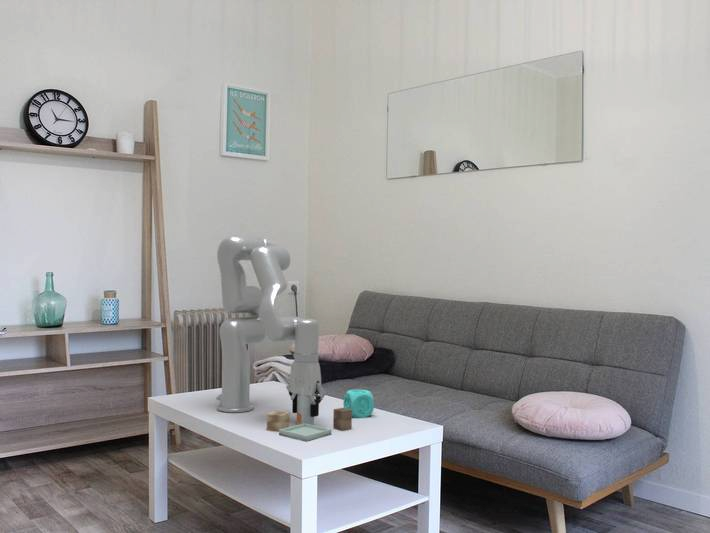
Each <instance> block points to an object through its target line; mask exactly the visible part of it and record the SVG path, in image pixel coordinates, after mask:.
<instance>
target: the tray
mask: <svg viewBox="0 0 710 533" xmlns="http://www.w3.org/2000/svg"><path fill="white" fill-rule="evenodd" d="M332 431H333V430H332V428H327V427H323V426H318V425H315V424H314V425H310V424H306V423H304V424H300V425H299V424H297V425H292V426H289V427H288V428H284V429H280V430H279V432H278V435H279V436H282V437H287V438H291V439H295V440H299V441H303V442H310V441H312V440H313V441H314V440H316V439H319V438H323V437H327V436H330V435H332Z"/></svg>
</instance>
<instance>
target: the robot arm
mask: <svg viewBox="0 0 710 533" xmlns="http://www.w3.org/2000/svg"><path fill="white" fill-rule="evenodd" d="M216 256H217V262H218V263H217V264H218V268H219V271H220V285H221V286H220V287H221V300H222V307H223V310H224V311H225V312H226V313H228V314H232V315H233V314H245V316H241V317H239V316H238V317H230V318H227V319H226V320H224V321H223V322H222V323H221V325H220V326H219V337H220V345H221V355H222V357H221V358H222V359H221V361H222V362H221V365H222V366H221V368H222V369H221V393H219V395H216V397H215V399H216V400H217V401H219V404H217V405H216V410H218V411H220V412H222V413H224V412H225V413H244V412H250V411H252V410H254V408H255V405H254V404H253V403H251V402H250V393H251V392H250V388H251V387H250V386H251V384H250V383H251V382H250V381H251V380H250V379H251V372H250V371H251V356H250V353H249V349H248V348H247V347H246V345H252V344H258V343H261V342H263V341H264V340H265V339H266V337H268V339H269V340H270V341H273V342H285V341H294V353H293V354H292V357H293V359H294V360H293V361H292V364H291V368H290V375H289V383H288V384H287V385H286V386H285V389H286V390H287V392H288V395H289V396H290V400H291V401H292V404H291V405H292V408H291V412H292V414H297V394H299V395H301V389H304V395H305V396H310V398H311V401H312V404H311V408H310V416H311V417H314V418H315V417H318V416H319V414H320V413H319V409H320V404H321V403H322V400H323V399H324V397H325V396H326V395H327V391H326V390H325V389H324V387H323V386H322V374H321V366H320V362H319V332H320V331H319V329H320V328H319V326H320V324H319V321H318V320H317V319H314V318H303V317H300V316H284V317H283V316H282V317H279V315H278V312H277V310H276V306H275V303H276V302H275V301H276V298H277V296H279V295H281V294H283V293H284V292H285V290H286V289H287V288H288V285H287V283H288V282H287V280H286V278H285V275H284V274H283V271H285V270H287V269H288V268H289V267H290V265H291V256H290V253H289V251H288V250H287V248H285V247H284V246H282V245H280V244H278V243H275V242H274V241H272V240H270V239H267V238H266V237H263V236H251V235H230V236H227V237H225V238H224V239H222V240H221V241H220V243H219V245H218V248H217V255H216ZM240 261H250V263H251V265H252V268H253V270H254V273H255V276H256V279H257V281H258V284H259V287H260V288H259V287H258V286H254V285H247V280H246V279H247V278H246V277H247V276H246V271H245V269H244V267H243V266H242V264H241V263H240Z"/></svg>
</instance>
